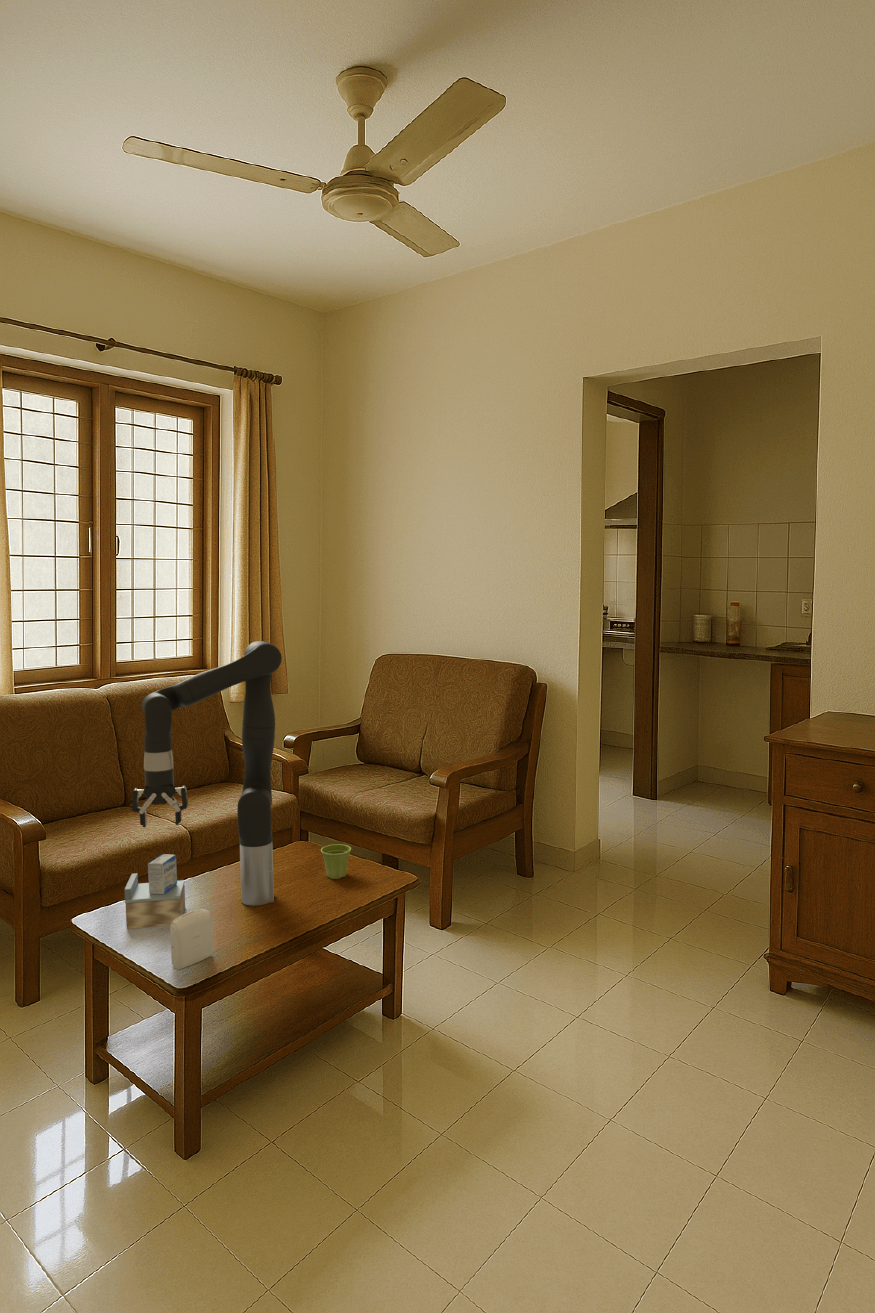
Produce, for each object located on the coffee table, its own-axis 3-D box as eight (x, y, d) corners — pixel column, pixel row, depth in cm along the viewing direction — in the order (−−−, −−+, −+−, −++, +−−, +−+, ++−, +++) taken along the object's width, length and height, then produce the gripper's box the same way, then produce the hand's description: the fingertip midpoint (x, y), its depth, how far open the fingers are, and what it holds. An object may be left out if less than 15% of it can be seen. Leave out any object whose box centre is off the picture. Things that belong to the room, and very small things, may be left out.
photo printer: (178, 971, 194) (177, 921, 193) (168, 966, 197) (166, 916, 195) (215, 956, 202) (214, 908, 201) (205, 951, 204) (204, 903, 203)
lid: (184, 883, 231) (184, 870, 231) (179, 899, 219) (179, 885, 219) (132, 886, 228) (131, 873, 228) (125, 903, 217) (124, 889, 216)
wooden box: (185, 908, 231) (184, 884, 231) (181, 924, 221) (180, 899, 220) (133, 912, 229) (132, 888, 228) (126, 929, 218) (125, 903, 217)
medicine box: (164, 895, 220) (162, 864, 219) (148, 894, 221) (147, 863, 220) (177, 884, 228) (176, 854, 227) (162, 883, 228) (161, 853, 228)
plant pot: (349, 881, 252) (349, 854, 251) (319, 881, 252) (318, 854, 251) (353, 870, 261) (352, 844, 260) (323, 870, 261) (323, 844, 261)
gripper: (187, 762, 226) (189, 820, 228) (133, 765, 223) (135, 823, 225) (184, 768, 219) (186, 827, 220) (128, 771, 216) (131, 831, 218)
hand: (161, 825), depth 223 cm, fingers open, 8 cm apart
